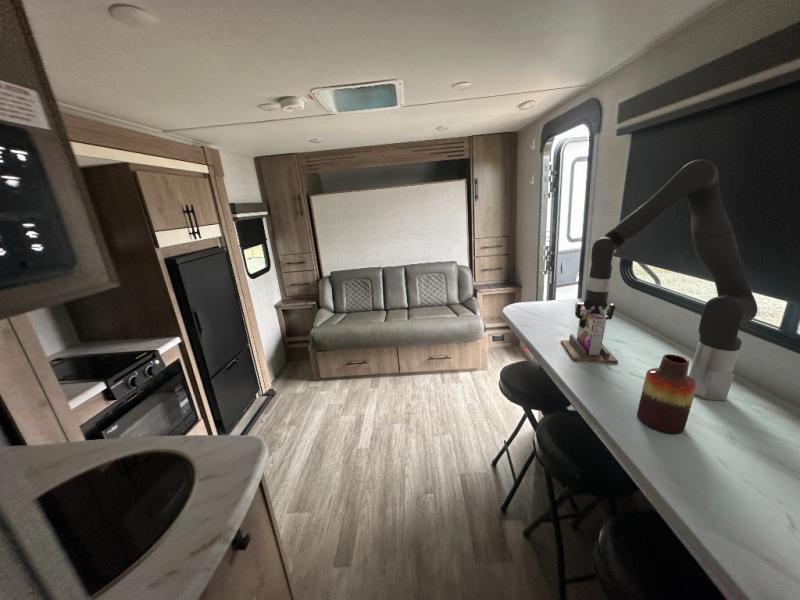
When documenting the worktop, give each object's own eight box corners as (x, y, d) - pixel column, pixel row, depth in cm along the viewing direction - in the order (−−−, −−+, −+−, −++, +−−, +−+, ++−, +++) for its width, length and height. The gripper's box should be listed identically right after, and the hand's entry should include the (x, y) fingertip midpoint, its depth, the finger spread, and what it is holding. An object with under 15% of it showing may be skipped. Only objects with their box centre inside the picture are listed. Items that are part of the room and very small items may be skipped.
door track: (600, 344, 139) (601, 335, 138) (617, 363, 124) (619, 353, 122) (560, 342, 142) (562, 334, 141) (572, 360, 127) (574, 351, 125)
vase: (636, 405, 99) (650, 346, 93) (682, 418, 93) (699, 355, 87) (636, 425, 91) (651, 361, 85) (686, 440, 85) (706, 373, 79)
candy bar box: (574, 343, 138) (580, 308, 133) (586, 343, 138) (592, 308, 133) (587, 356, 128) (593, 317, 123) (600, 356, 127) (607, 317, 122)
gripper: (581, 290, 122) (575, 330, 128) (622, 291, 120) (614, 332, 125) (574, 285, 129) (569, 323, 135) (613, 286, 127) (606, 325, 132)
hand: (591, 327), depth 130 cm, fingers open, 6 cm apart
